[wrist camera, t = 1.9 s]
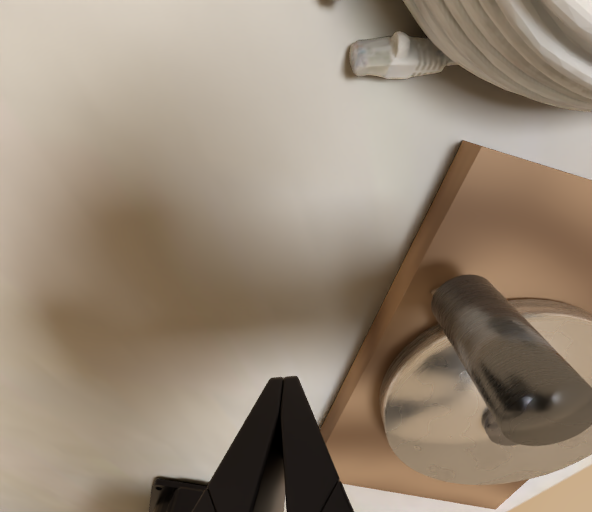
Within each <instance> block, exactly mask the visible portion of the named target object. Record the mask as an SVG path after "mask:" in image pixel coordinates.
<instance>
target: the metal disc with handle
mask: <svg viewBox="0 0 592 512" xmlns="http://www.w3.org/2000/svg"><path fill="white" fill-rule="evenodd" d="M431 294H432V296H433V297H432V301H431V310H432V313H433V314H434V316H435V318H436V320H437V321H438V324H436V325H434V326H432V327H431V328H429V329H428V330H426V331H425V332H423V333H422V334H420V335H419V336H418V337H416V338H415V339H414V340H413V341H412V342H410V343H409V344H408V345H407V346H406V347H405V348H404V349H403V350H402V351H401V352H400V353H399V355H398V356H397V357H396V358H395V359H394V361H393V362H392V364H391V365H390V367H389V368H388V370H387V372H386V374H385V376H384V378H383V381H382V384H381V388H380V394H379V405H380V412H381V416H382V420H383V424H384V428H385V432H386V436H387V439H388V442H389V445H390V447H391V448H392V450H393V452H394V453H395V454H396V455H397V457H398V458H399V459H400V460H401V461H402V462H403V463H405V464H406V465H407V466H408V467H410V468H412V469H413V470H415V471H417V472H419V473H421V474H423V475H425V476H428V477H431V478H434V479H437V480H441V481H446V482H450V483H457V484H468V485H492V484H504V483H511V482H517V481H522V480H527V479H531V478H535V477H539V476H542V475H546V474H549V473H552V472H554V471H557V470H560V469H563V468H565V467H567V466H569V465H572V464H574V463H576V462H578V461H580V460H582V459H584V458H586V457H588V456H589V455H591V454H592V314H591V313H589V312H587V311H585V310H583V309H581V308H578V307H575V306H572V305H569V304H566V303H561V302H556V301H551V300H538V299H523V300H510V301H508V300H507V299H506V298H505V297H504V296H503V295H502V294H501V293H500V292H499V291H498V290H497V289H496V288H495V287H494V286H493V285H492V284H491V283H490V282H489V281H488V280H487V279H486V278H484V277H482V276H478V275H471V274H468V275H461V276H457V277H454V278H452V279H450V280H448V281H446V282H445V283H444V284H442V285H441V286H440V287H439V288H437V289H434V290H432V291H431Z"/></svg>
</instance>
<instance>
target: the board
mask: <svg viewBox="0 0 592 512" xmlns="http://www.w3.org/2000/svg"><path fill="white" fill-rule="evenodd" d="M468 274H471V275H478V276H482V277H484V278H486V279H487V280H488V281H489V282H490V283H491V284H492V285H493V286H494V287H495V288H496V289H497V290H498V291H499V292H500V293H501V294H502V295H503V296H504V297H505V298H506V299H507V300H508V301H510V300H523V299H538V300H551V301H556V302H561V303H566V304H569V305H572V306H575V307H578V308H581V309H583V310H585V311H587V312H589V313H591V314H592V180H589V179H586V178H583V177H579V176H576V175H573V174H570V173H567V172H563V171H560V170H557V169H554V168H550V167H547V166H544V165H541V164H538V163H534V162H531V161H528V160H525V159H522V158H518V157H515V156H512V155H509V154H505V153H502V152H499V151H496V150H493V149H489V148H486V147H483V146H480V145H476V144H473V143H470V142H467V141H464V140H463V142H462V144H461V146H460V148H459V150H458V152H457V154H456V156H455V158H454V160H453V162H452V164H451V166H450V168H449V170H448V172H447V174H446V176H445V178H444V180H443V182H442V184H441V186H440V188H439V190H438V192H437V194H436V196H435V198H434V200H433V202H432V204H431V206H430V208H429V210H428V212H427V214H426V216H425V218H424V221H423V223H422V225H421V227H420V229H419V231H418V233H417V235H416V237H415V239H414V241H413V243H412V245H411V247H410V249H409V251H408V253H407V255H406V257H405V259H404V261H403V263H402V265H401V267H400V269H399V271H398V273H397V275H396V277H395V279H394V281H393V283H392V285H391V287H390V289H389V291H388V293H387V295H386V297H385V299H384V301H383V303H382V305H381V308H380V310H379V312H378V314H377V316H376V318H375V320H374V322H373V324H372V326H371V328H370V330H369V332H368V334H367V336H366V338H365V340H364V342H363V344H362V346H361V348H360V350H359V352H358V354H357V356H356V358H355V360H354V362H353V364H352V366H351V368H350V370H349V372H348V374H347V376H346V378H345V380H344V382H343V384H342V386H341V388H340V390H339V392H338V395H337V397H336V399H335V401H334V403H333V405H332V407H331V409H330V411H329V413H328V415H327V417H326V419H325V421H324V423H323V425H322V427H321V429H320V432H321V434H322V437H323V439H324V442H325V444H326V446H327V449H328V451H329V454H330V456H331V459H332V461H333V463H334V466H335V468H336V471H337V473H338V475H339V478H340V481H341V482H342V484H348V485H354V486H360V487H366V488H372V489H378V490H384V491H390V492H395V493H401V494H407V495H413V496H419V497H425V498H431V499H437V500H443V501H449V502H455V503H460V504H466V505H472V506H478V507H484V508H490V509H496V508H498V507H499V506H500V505H501V504H502V503H503V502H504V501H505V500H506V499H507V498H509V497H510V496H511V495H512V494H513V493H514V492H515V491H516V490H517V489H519V488H520V487H521V486H522V485H523V484H524V483H525V482H526V481H527V480H529V479H527V480H522V481H517V482H511V483H504V484H492V485H468V484H457V483H450V482H446V481H441V480H437V479H434V478H431V477H428V476H425V475H423V474H421V473H419V472H417V471H415V470H413V469H412V468H410V467H408V466H407V465H406V464H405V463H403V462H402V461H401V460H400V459H399V458H398V457H397V455H396V454H395V453H394V452H393V450H392V448H391V447H390V445H389V442H388V439H387V436H386V432H385V428H384V424H383V420H382V416H381V412H380V405H379V394H380V388H381V384H382V381H383V378H384V376H385V374H386V372H387V370H388V368H389V367H390V365H391V364H392V362H393V361H394V359H395V358H396V357H397V356H398V355H399V353H400V352H401V351H402V350H403V349H404V348H405V347H406V346H407V345H408V344H409V343H410V342H412V341H413V340H414V339H415V338H416V337H418V336H419V335H420V334H422V333H423V332H425V331H426V330H428V329H429V328H431V327H432V326H434V325H436V324H438V321H437V320H436V318H435V316H434V314H433V313H432V310H431V301H432V297H433V296H432V294H431V291H432V290H434V289H437V288H439V287H440V286H441V285H442V284H444V283H445V282H446V281H448V280H450V279H452V278H454V277H457V276H461V275H468Z"/></svg>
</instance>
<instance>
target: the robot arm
mask: <svg viewBox="0 0 592 512" xmlns="http://www.w3.org/2000/svg"><path fill="white" fill-rule="evenodd" d="M285 494H286V509H287V512H354V510H353V508H352V506H351V504H350V501H349V499H348V497H347V495H346V492H345V490H344V487H343V485H342V482H341V481H340V478H339V475H338V473H337V471H336V468H335V466H334V463H333V461H332V459H331V456H330V454H329V451H328V449H327V446H326V444H325V442H324V439H323V437H322V434H321V432H320V429H319V427H318V425H317V422H316V420H315V417H314V415H313V412H312V410H311V408H310V405H309V403H308V400H307V398H306V396H305V393H304V391H303V388H302V386H301V383H300V381H299V379H298V377H297V376H289V377H285V378H283V377H276V378H271V379H270V380H269V381H268V383H267V384H266V386H265V388H264V390H263V391H262V393H261V395H260V396H259V398H258V400H257V402H256V403H255V405H254V407H253V408H252V410H251V412H250V413H249V415H248V417H247V419H246V420H245V422H244V424H243V425H242V427H241V429H240V431H239V432H238V434H237V436H236V437H235V439H234V441H233V443H232V444H231V446H230V448H229V449H228V451H227V453H226V455H225V456H224V458H223V460H222V461H221V463H220V465H219V467H218V468H217V470H216V472H215V473H214V475H213V477H212V479H211V480H210V482H209V484H208V485H207V486H201V485H195V484H188V483H182V482H176V481H170V480H163V479H156V480H155V481H154V484H153V486H152V492H151V500H150V509H149V512H284V502H285Z"/></svg>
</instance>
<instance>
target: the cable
mask: <svg viewBox="0 0 592 512" xmlns="http://www.w3.org/2000/svg"><path fill="white" fill-rule="evenodd" d="M403 2H404V3H405V5H406V6H407V8H408V9H409V11H410V12H411V14H412V16H413V17H414V19H415V20H416V22H417V23H418V25H419V26H420V27H421V29H422V30H423V32H424V33H425V34H426V35H427V37H428V38H429V39H427V38H420V37H410V36H408V35H407V34H405V33H403V32H401V31H397V32H395V33H394V34H393V36H389V37H382V38H375V39H367V40H358V41H356V42H355V43H354V44H352V45H351V47H350V56H349V59H350V65H351V67H352V71H353V73H354V74H355V75H356V76H365V75H373V76H379V77H383V78H386V79H408V78H410V77H415V76H422V75H426V74H434V73H440V72H441V71H442V70H443V68H444V67H445V66H449V65H460V66H461V67H462V68H464V69H466V70H467V71H469V72H471V73H472V74H474V75H476V76H477V77H479V78H481V79H483V80H485V81H487V82H489V83H492V84H494V85H496V86H498V87H500V88H502V89H504V90H507V91H510V92H513V93H516V94H519V95H522V96H524V97H527V98H529V99H532V100H535V101H537V102H540V103H544V104H547V105H551V106H555V107H558V108H563V109H571V110H578V111H588V112H592V0H403Z"/></svg>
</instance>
